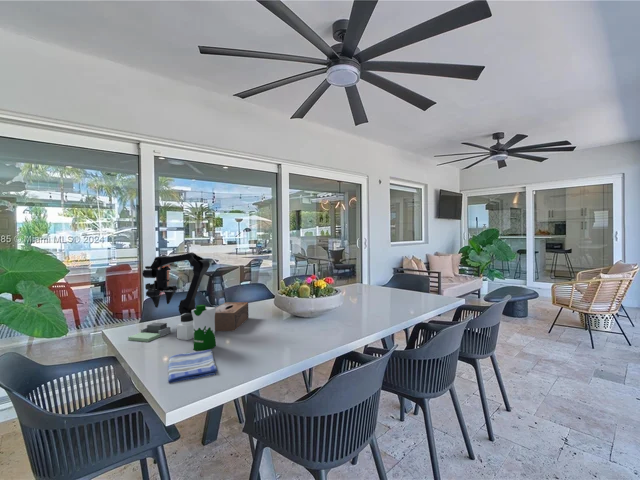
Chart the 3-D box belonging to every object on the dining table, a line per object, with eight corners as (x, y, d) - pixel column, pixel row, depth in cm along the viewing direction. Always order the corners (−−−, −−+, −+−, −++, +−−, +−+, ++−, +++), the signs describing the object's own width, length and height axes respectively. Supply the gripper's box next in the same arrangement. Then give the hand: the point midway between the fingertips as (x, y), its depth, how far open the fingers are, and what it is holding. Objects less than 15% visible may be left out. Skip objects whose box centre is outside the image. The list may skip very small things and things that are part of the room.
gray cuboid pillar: (167, 332, 172) (166, 323, 172) (160, 335, 167) (160, 325, 167) (154, 331, 173) (153, 322, 173) (147, 334, 169) (146, 325, 168)
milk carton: (190, 350, 144) (189, 306, 143) (203, 343, 152) (202, 301, 152) (206, 352, 141) (205, 307, 140) (219, 345, 149) (218, 302, 149)
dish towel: (212, 354, 140) (212, 347, 140) (218, 375, 119) (218, 367, 119) (169, 361, 133) (168, 354, 133) (166, 385, 112) (166, 377, 112)
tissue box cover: (225, 318, 198) (225, 302, 198) (248, 318, 197) (248, 302, 197) (208, 331, 172) (207, 312, 172) (234, 331, 171) (233, 312, 171)
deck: (170, 332, 171) (170, 326, 171) (148, 341, 156) (148, 335, 156) (151, 331, 174) (151, 325, 174) (127, 340, 160) (127, 334, 160)
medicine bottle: (198, 336, 164) (197, 312, 163) (187, 340, 157) (186, 316, 157) (188, 334, 167) (187, 311, 166) (176, 338, 160) (176, 315, 160)
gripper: (160, 275, 193) (161, 301, 193) (137, 280, 174) (137, 309, 175) (177, 276, 190) (177, 302, 191) (154, 280, 172) (155, 309, 172)
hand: (162, 305), depth 182 cm, fingers open, 9 cm apart
